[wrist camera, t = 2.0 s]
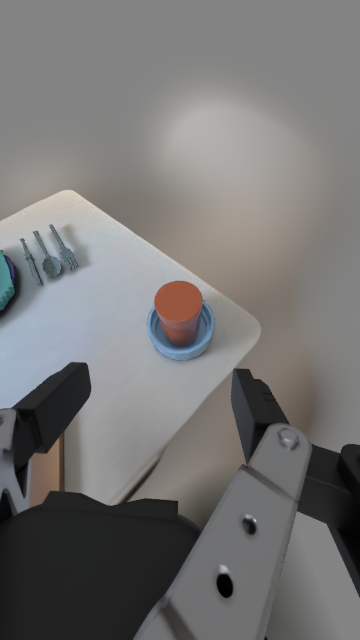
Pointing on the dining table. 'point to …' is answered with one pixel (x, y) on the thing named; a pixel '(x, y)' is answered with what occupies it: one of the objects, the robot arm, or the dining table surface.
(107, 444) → the dining table surface
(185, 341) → the terracotta cylindrical canister
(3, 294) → the cutlery set
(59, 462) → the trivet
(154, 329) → the bowl
